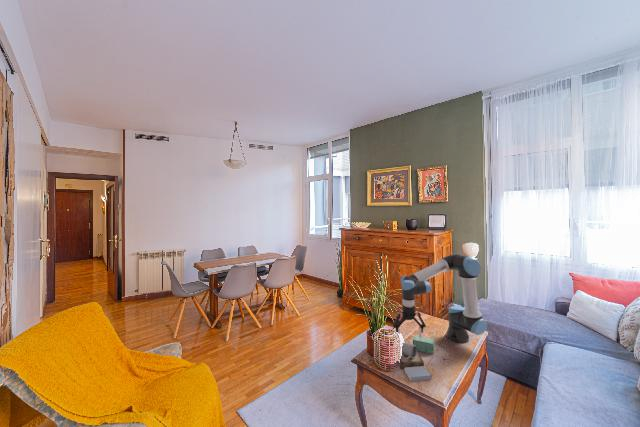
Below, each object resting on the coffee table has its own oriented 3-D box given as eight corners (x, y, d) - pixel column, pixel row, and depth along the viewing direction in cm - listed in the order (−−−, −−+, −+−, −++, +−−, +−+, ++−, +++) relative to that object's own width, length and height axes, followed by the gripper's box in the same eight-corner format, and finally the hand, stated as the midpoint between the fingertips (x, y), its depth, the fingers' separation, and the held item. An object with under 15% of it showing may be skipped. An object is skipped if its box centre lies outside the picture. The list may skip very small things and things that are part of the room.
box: (433, 354, 179) (433, 343, 179) (412, 350, 185) (412, 339, 185) (434, 349, 186) (434, 338, 186) (413, 345, 192) (413, 334, 192)
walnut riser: (416, 356, 178) (416, 349, 178) (424, 369, 164) (424, 362, 164) (395, 356, 178) (395, 349, 178) (401, 369, 165) (400, 362, 164)
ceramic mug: (405, 350, 177) (405, 339, 176) (417, 355, 171) (417, 343, 171) (397, 357, 170) (397, 345, 169) (409, 362, 164) (409, 350, 163)
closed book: (423, 369, 163) (423, 365, 163) (430, 379, 154) (430, 375, 154) (404, 371, 162) (404, 367, 162) (410, 381, 153) (410, 377, 153)
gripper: (426, 302, 173) (427, 334, 174) (387, 303, 174) (388, 335, 175) (430, 306, 166) (431, 340, 167) (390, 307, 167) (391, 341, 167)
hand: (409, 337), depth 171 cm, fingers open, 13 cm apart
